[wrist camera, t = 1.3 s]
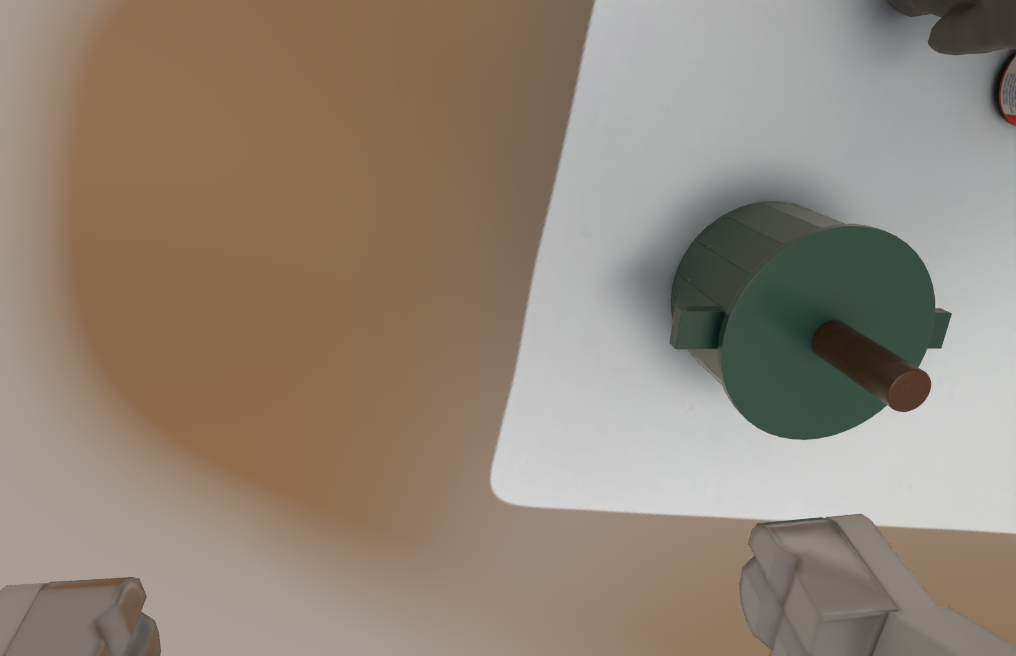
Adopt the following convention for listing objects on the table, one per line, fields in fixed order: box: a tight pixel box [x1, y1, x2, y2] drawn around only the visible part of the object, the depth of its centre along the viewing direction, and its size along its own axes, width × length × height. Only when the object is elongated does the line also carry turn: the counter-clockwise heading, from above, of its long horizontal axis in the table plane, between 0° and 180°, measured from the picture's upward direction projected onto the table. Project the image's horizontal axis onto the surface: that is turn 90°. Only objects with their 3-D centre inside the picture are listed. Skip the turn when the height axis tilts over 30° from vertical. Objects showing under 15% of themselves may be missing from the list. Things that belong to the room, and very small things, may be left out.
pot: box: [670, 202, 952, 386], centre depth 48 cm, size 13×18×8 cm
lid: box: [718, 224, 935, 440], centre depth 41 cm, size 14×14×8 cm
